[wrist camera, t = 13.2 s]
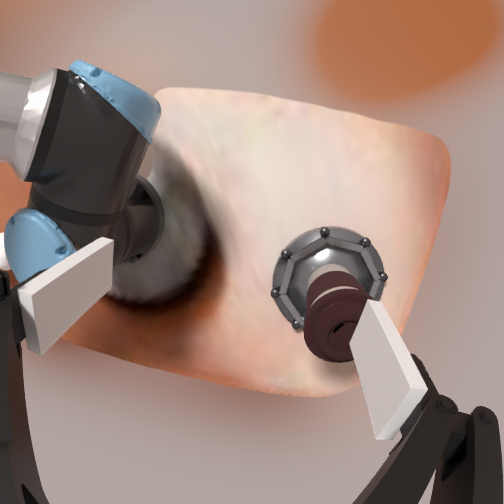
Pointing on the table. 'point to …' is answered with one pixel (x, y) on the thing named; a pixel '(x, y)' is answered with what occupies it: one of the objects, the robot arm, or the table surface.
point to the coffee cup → (333, 312)
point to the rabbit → (3, 254)
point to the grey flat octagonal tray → (316, 255)
